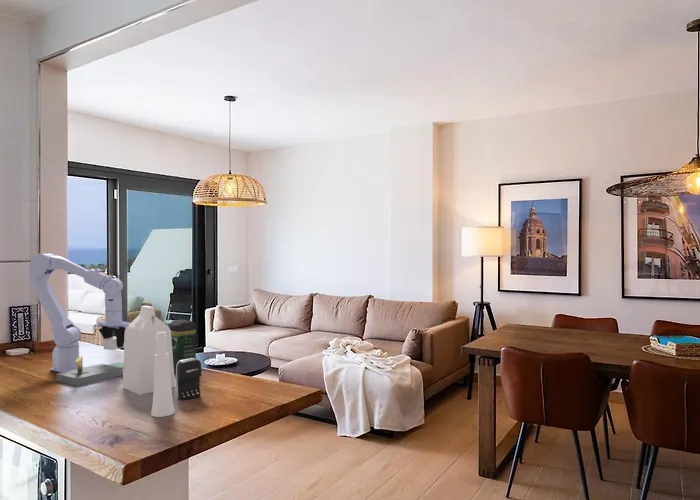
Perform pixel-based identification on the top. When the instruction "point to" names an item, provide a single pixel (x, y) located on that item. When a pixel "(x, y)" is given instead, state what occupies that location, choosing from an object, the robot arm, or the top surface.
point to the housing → (89, 374)
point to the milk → (144, 351)
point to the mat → (118, 365)
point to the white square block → (111, 343)
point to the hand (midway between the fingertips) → (114, 346)
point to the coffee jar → (182, 340)
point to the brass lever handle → (79, 364)
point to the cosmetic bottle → (162, 380)
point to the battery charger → (188, 378)
